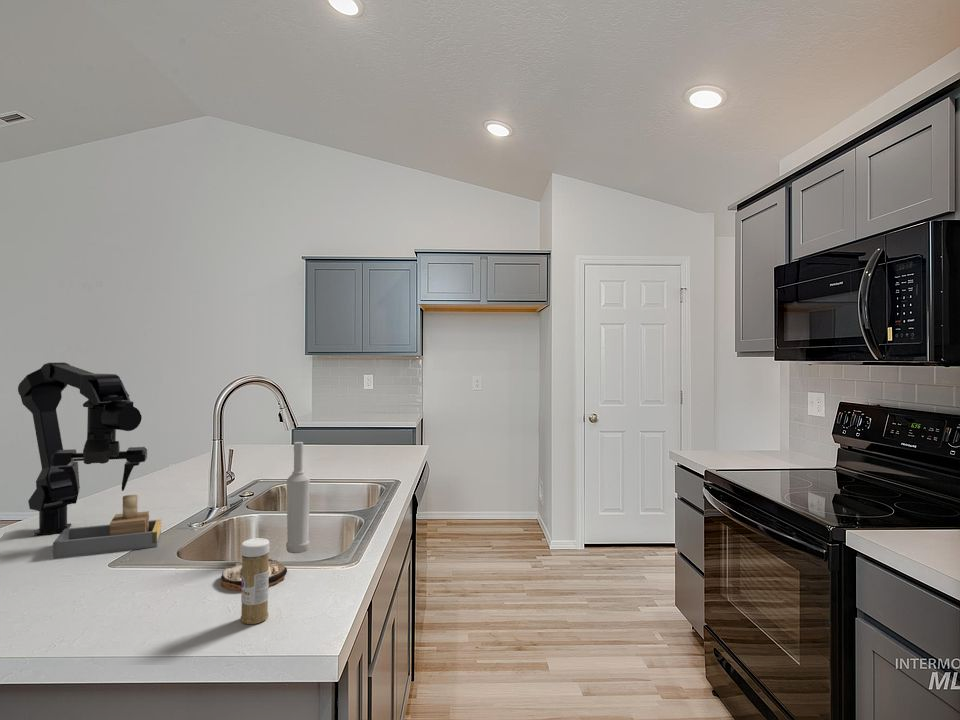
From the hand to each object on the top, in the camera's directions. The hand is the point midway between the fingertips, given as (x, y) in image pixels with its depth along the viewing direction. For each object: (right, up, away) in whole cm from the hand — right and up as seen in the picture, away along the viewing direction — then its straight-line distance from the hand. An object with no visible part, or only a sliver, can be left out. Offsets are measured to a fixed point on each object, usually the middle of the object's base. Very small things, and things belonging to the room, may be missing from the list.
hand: (100, 491), depth 138 cm
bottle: (+48, -13, -4) cm, 50 cm away
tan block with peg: (+7, -11, -1) cm, 13 cm away
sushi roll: (+45, -14, -21) cm, 51 cm away
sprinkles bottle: (+52, -13, -39) cm, 66 cm away
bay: (+4, -12, -2) cm, 13 cm away
